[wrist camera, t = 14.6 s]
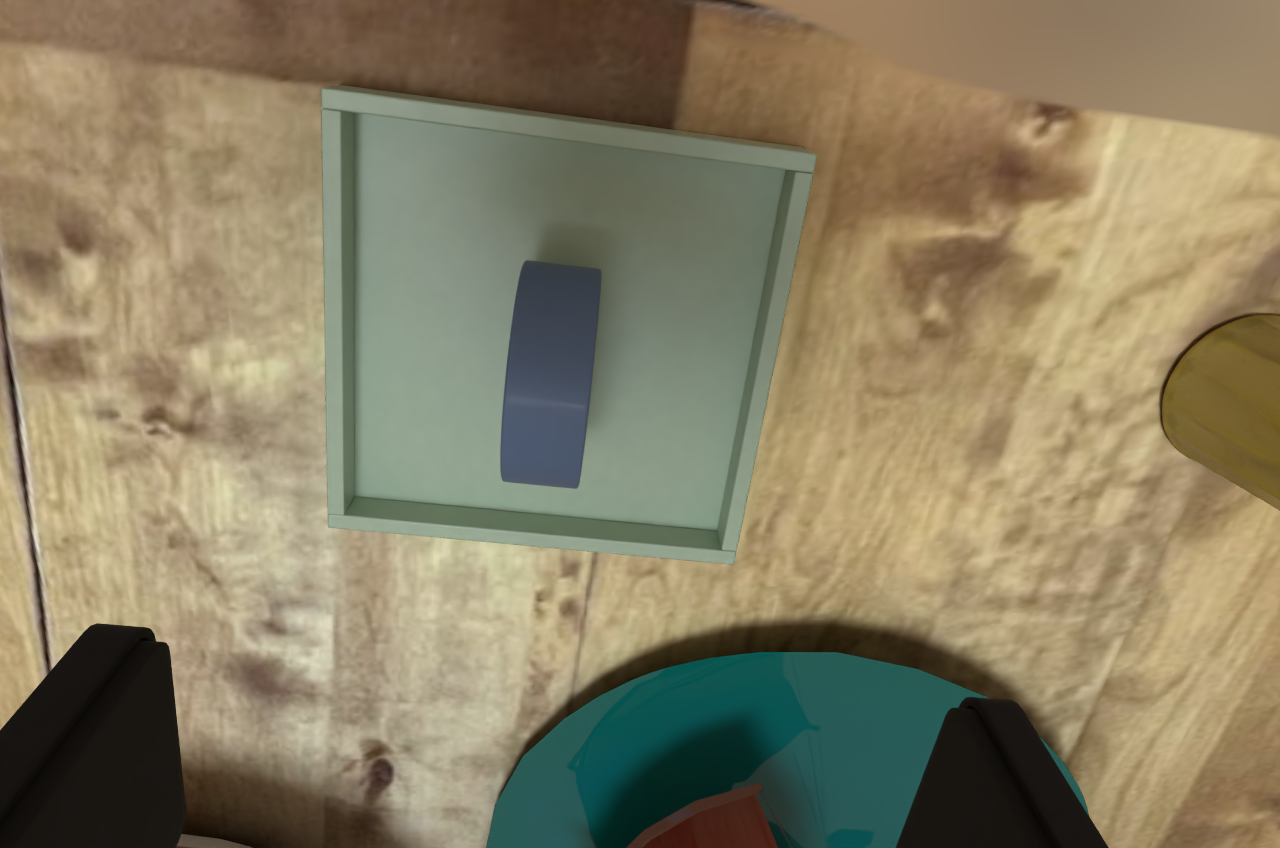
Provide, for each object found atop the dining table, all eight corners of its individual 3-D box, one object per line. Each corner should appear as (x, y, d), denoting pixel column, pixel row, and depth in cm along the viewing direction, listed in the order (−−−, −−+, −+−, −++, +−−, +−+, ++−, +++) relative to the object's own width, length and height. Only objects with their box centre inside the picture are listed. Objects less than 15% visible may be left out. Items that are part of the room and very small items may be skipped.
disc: (531, 245, 29) (512, 281, 23) (601, 254, 30) (602, 291, 23) (515, 436, 32) (493, 519, 25) (580, 443, 32) (575, 526, 25)
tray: (339, 84, 27) (320, 87, 26) (804, 147, 29) (818, 154, 27) (342, 501, 33) (327, 528, 32) (727, 538, 35) (734, 565, 33)
